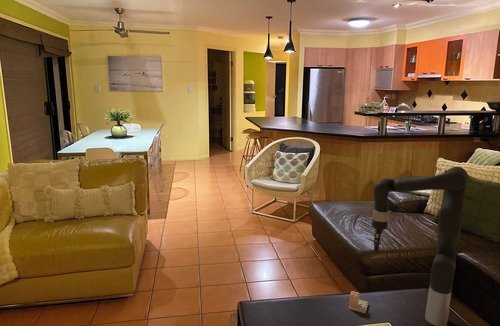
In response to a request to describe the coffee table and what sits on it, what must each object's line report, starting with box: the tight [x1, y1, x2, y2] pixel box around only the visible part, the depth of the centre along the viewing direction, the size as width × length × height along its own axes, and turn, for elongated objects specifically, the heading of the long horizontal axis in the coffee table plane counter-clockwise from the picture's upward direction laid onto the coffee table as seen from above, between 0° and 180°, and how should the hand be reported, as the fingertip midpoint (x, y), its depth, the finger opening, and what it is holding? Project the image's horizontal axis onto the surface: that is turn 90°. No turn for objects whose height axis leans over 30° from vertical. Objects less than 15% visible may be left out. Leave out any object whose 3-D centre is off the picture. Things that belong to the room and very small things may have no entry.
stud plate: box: [348, 299, 369, 314], centre depth 182 cm, size 8×8×2 cm
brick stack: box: [348, 290, 361, 308], centre depth 180 cm, size 4×4×6 cm
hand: (377, 247), depth 184 cm, fingers open, 8 cm apart
